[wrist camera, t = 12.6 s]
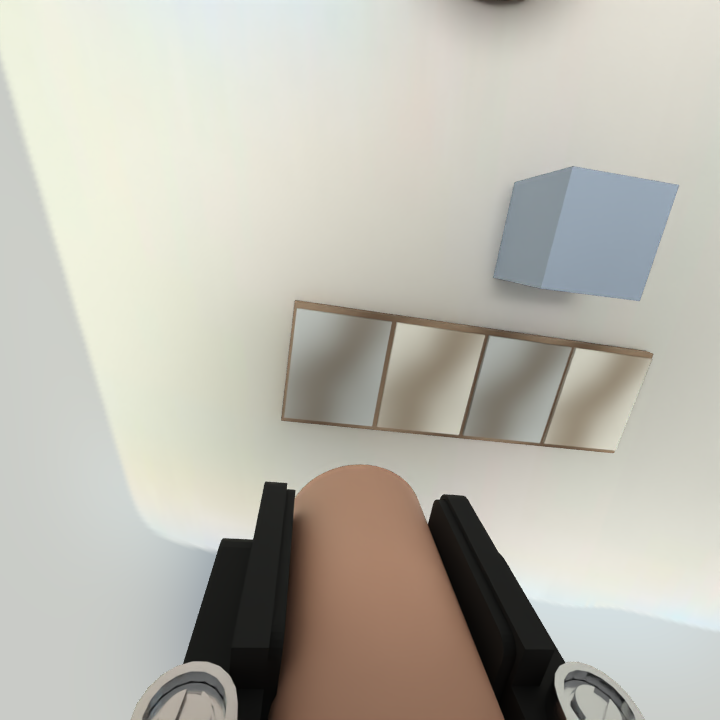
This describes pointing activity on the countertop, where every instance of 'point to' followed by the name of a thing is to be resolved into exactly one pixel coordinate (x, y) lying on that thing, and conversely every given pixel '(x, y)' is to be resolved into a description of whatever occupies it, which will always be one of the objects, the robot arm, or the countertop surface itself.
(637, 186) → the light blue cube
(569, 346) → the track
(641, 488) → the countertop surface
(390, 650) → the pawn
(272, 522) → the robot arm
